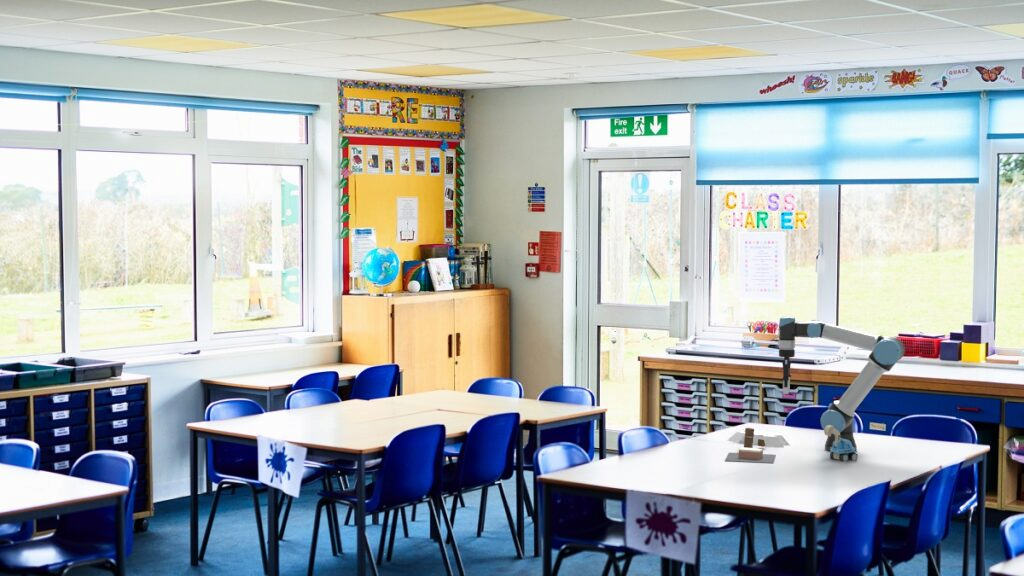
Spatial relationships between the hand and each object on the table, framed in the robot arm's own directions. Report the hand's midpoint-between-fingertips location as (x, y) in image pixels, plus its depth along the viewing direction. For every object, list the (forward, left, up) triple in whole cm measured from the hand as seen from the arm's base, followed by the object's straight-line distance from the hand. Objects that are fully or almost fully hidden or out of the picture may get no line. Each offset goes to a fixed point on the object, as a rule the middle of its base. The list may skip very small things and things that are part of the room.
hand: (786, 392), depth 597 cm
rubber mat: (+15, +28, -29) cm, 43 cm away
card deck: (+15, +28, -28) cm, 42 cm away
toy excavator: (-25, +21, -29) cm, 44 cm away
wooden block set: (+16, +4, -29) cm, 33 cm away
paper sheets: (+13, -21, -30) cm, 38 cm away
